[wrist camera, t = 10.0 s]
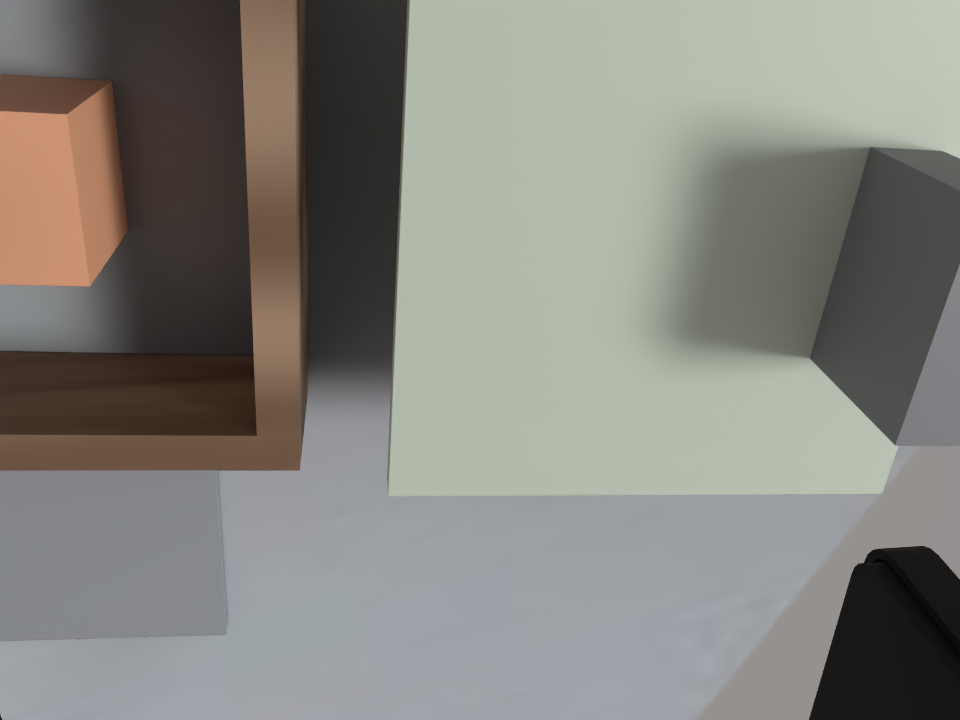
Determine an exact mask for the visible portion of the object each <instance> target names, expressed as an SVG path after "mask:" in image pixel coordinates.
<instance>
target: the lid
mask: <svg viewBox="0 0 960 720" xmlns="http://www.w3.org/2000/svg"><path fill="white" fill-rule="evenodd" d="M899 446H960V0H407V23H406V46H405V70H404V94H403V117H402V141H401V164H400V188H399V212H398V235H397V259H396V283H395V306H394V330H393V354H392V377H391V401H390V424H389V448H388V472H387V480H388V496H516V495H703V494H882V491H883V489H884V486H885V483H886V480H887V477H888V475H889V472H890V469H891V466H892V463H893V461H894V458H895V455H896V452H897V449H898V447H899Z"/></svg>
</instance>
